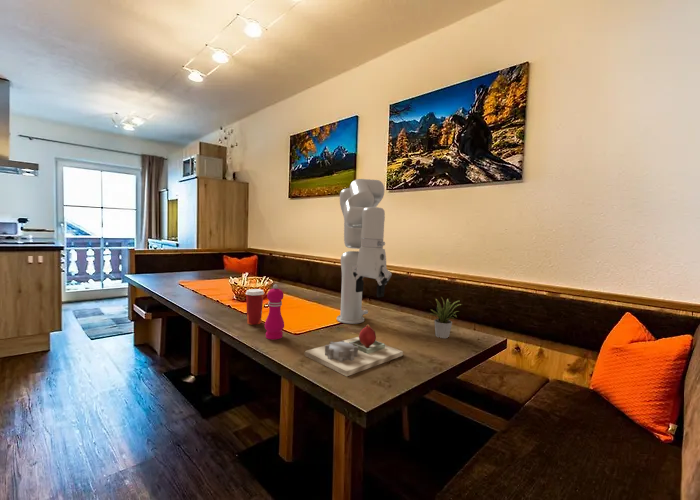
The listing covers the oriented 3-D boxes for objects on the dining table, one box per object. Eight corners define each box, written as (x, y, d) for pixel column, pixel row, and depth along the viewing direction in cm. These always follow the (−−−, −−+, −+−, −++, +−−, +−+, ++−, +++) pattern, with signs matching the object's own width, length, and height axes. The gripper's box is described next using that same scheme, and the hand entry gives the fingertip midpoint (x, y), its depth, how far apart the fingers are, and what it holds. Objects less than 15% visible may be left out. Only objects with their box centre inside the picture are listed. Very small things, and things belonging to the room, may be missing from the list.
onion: (357, 344, 121) (358, 321, 120) (374, 344, 121) (375, 322, 121) (359, 350, 115) (360, 326, 114) (376, 350, 115) (377, 327, 115)
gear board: (360, 339, 130) (360, 328, 130) (402, 355, 116) (403, 342, 115) (304, 355, 112) (305, 342, 112) (346, 376, 98) (347, 361, 97)
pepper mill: (279, 341, 125) (280, 286, 124) (260, 338, 126) (262, 285, 125) (286, 335, 132) (288, 283, 131) (269, 333, 134) (270, 282, 132)
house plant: (470, 337, 139) (472, 297, 138) (454, 345, 129) (457, 302, 128) (438, 329, 149) (440, 292, 148) (421, 335, 139) (423, 295, 137)
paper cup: (267, 322, 148) (268, 290, 147) (253, 326, 141) (254, 292, 140) (254, 319, 152) (255, 288, 151) (240, 323, 145) (241, 290, 144)
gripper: (399, 245, 112) (396, 297, 113) (361, 242, 124) (359, 289, 126) (384, 246, 107) (381, 300, 108) (346, 242, 119) (344, 291, 121)
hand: (369, 294), depth 117 cm, fingers open, 9 cm apart
